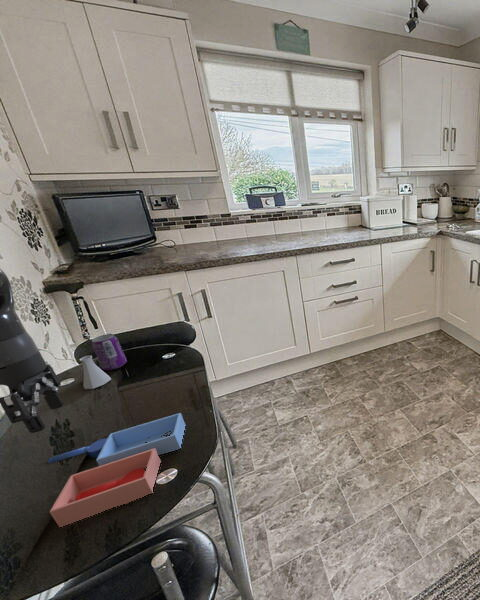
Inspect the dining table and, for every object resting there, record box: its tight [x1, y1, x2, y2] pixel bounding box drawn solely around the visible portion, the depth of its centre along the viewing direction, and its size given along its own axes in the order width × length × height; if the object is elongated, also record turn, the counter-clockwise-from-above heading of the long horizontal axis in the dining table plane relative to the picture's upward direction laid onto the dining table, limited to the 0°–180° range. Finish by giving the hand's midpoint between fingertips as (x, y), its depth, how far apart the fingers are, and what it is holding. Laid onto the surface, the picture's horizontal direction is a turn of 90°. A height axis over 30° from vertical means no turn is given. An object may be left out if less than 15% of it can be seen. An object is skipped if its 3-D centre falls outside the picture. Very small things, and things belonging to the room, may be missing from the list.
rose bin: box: [49, 448, 162, 528], centre depth 68 cm, size 15×9×4 cm, turn 115°
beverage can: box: [91, 333, 128, 371], centre depth 118 cm, size 7×7×12 cm
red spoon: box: [76, 469, 145, 501], centre depth 68 cm, size 12×4×2 cm, turn 115°
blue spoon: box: [47, 437, 108, 464], centre depth 79 cm, size 12×4×2 cm, turn 115°
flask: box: [79, 355, 112, 390], centre depth 108 cm, size 7×7×10 cm
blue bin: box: [95, 412, 187, 467], centre depth 79 cm, size 15×9×4 cm, turn 115°
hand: (48, 418), depth 74 cm, fingers open, 8 cm apart
